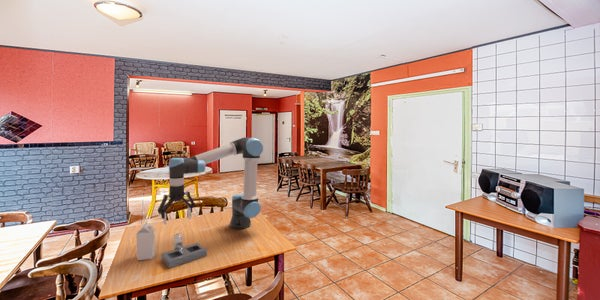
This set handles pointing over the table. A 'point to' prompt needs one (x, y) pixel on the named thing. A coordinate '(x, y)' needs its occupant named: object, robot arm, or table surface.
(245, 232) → the table surface
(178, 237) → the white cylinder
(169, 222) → the table surface
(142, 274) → the table surface
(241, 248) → the table surface
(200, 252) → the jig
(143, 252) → the milk carton
